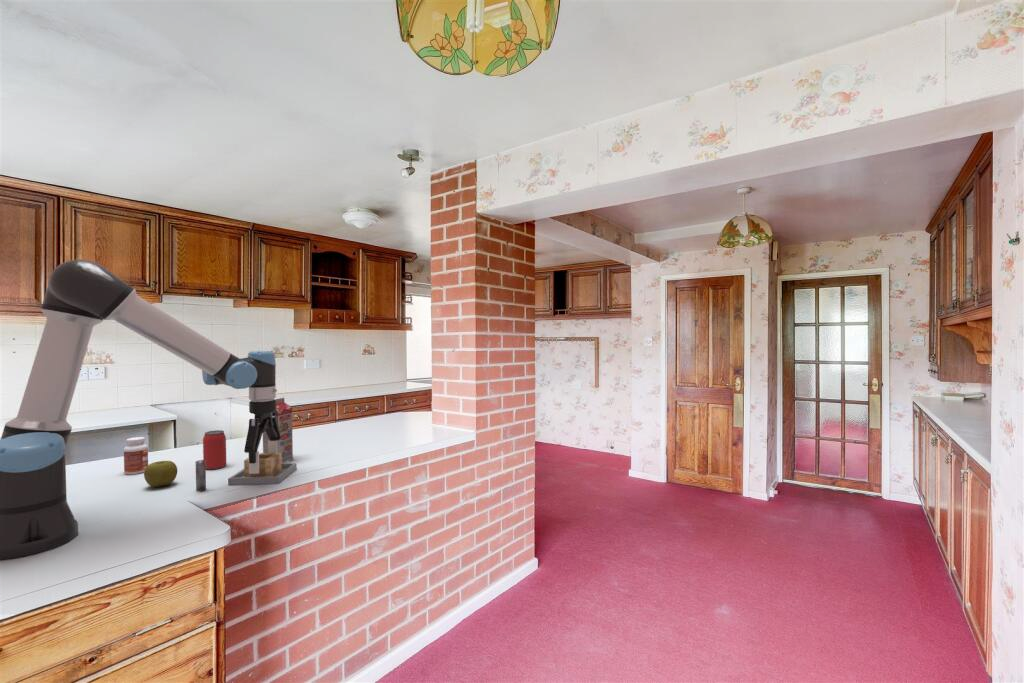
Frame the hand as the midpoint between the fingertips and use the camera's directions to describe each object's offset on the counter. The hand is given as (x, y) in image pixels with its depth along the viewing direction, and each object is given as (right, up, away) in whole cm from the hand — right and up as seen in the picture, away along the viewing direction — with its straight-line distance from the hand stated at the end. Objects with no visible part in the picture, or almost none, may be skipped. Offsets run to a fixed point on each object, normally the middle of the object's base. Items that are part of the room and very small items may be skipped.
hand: (264, 466), depth 149 cm
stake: (-12, -4, -12) cm, 17 cm away
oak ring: (0, -3, 0) cm, 3 cm away
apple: (-26, -4, -8) cm, 28 cm away
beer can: (-22, -3, +10) cm, 24 cm away
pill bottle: (-45, -3, +5) cm, 45 cm away
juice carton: (-4, -3, +18) cm, 19 cm away
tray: (0, -3, 0) cm, 3 cm away
